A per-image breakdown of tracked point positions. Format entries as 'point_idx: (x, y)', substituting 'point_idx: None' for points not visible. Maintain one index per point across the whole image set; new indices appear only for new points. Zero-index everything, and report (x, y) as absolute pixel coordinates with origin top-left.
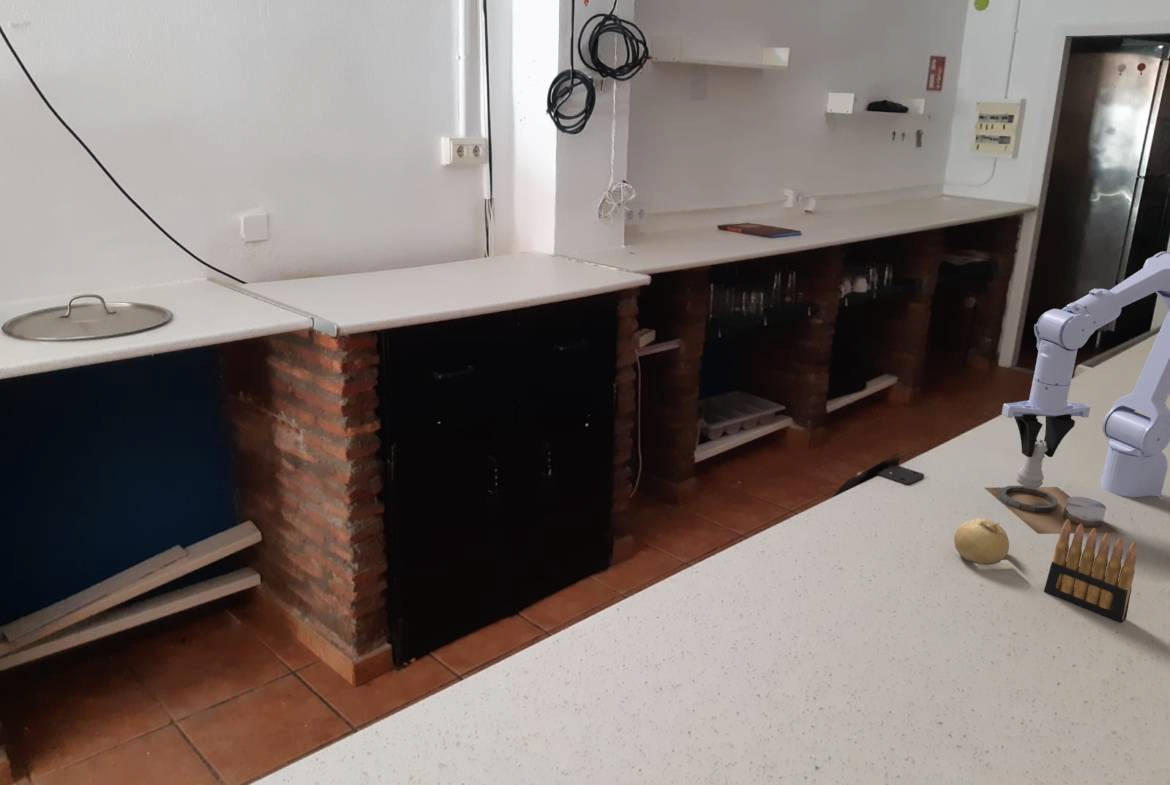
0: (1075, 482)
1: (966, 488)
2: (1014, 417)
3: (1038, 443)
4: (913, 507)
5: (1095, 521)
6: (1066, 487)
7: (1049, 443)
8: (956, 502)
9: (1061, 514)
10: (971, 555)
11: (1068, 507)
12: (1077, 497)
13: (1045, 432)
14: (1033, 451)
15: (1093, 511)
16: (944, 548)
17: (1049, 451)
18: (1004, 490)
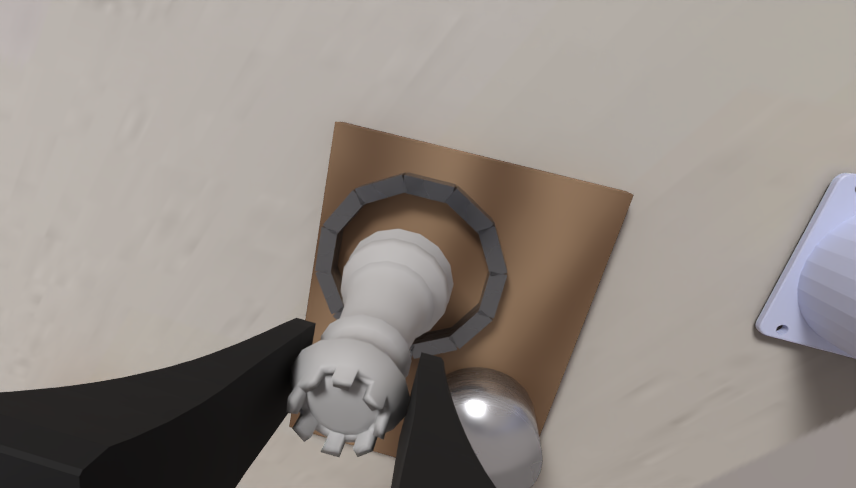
0: (807, 133)
1: (304, 69)
2: (7, 397)
3: (340, 405)
4: (55, 160)
5: None
6: (712, 166)
7: (402, 442)
8: (204, 166)
9: (446, 369)
10: None
11: None
12: (495, 414)
13: (412, 422)
14: (287, 413)
15: None
16: (49, 377)
17: (402, 425)
18: (354, 206)
